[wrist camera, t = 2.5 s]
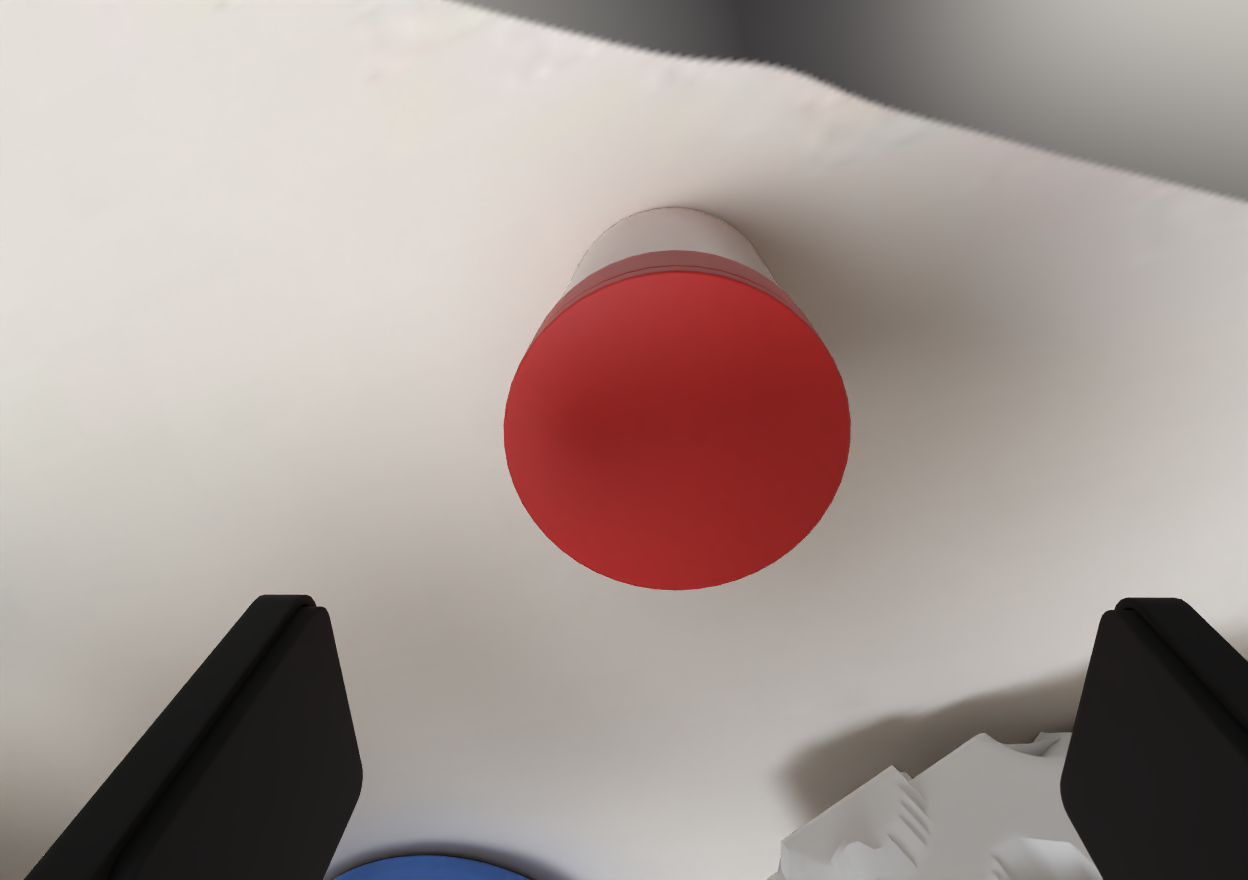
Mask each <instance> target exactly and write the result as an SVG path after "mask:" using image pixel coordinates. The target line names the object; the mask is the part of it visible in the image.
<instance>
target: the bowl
mask: <svg viewBox="0 0 1248 880" xmlns="http://www.w3.org/2000/svg"><path fill="white" fill-rule="evenodd" d="M333 880H529V879H527V878H525V877H523V876H521V875H519V874H516V873H514V872H511V871H508V870H506V869H503V868H500V867H497V866H494V865H490V864H487V863H483V862H479V861H474V860H470V859H464V858H457V857H448V856H433V855H418V856H404V857H396V858H389V859H384V860H380V861H375V862H371V863H368V864H365V865H362V866H359V867H357V868H355V869H352V870H350V871H348V872H346V873H344V874H342V875H340V876H338V877H336V878H335V879H333Z"/></svg>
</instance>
